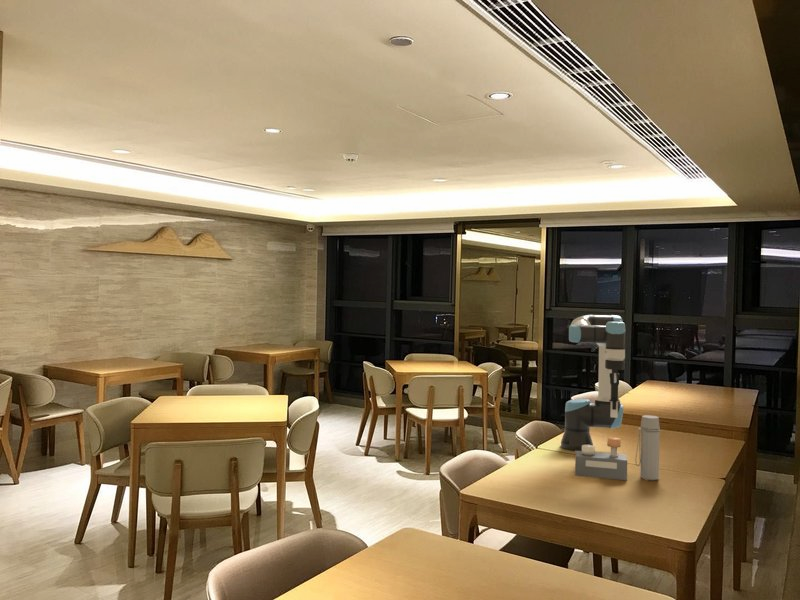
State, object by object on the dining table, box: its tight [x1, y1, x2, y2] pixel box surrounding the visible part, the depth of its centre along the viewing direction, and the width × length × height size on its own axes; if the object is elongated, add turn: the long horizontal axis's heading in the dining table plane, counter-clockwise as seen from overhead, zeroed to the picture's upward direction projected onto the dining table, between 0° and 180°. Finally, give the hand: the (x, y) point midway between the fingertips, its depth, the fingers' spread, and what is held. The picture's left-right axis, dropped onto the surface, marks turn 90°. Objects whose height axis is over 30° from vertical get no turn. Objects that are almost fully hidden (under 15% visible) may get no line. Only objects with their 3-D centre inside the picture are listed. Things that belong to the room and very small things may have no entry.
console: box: [574, 451, 628, 481], centre depth 263 cm, size 10×20×8 cm, turn 74°
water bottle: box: [635, 414, 661, 481], centre depth 259 cm, size 9×8×25 cm
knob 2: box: [606, 436, 622, 458], centre depth 262 cm, size 5×5×11 cm
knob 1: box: [582, 444, 596, 455], centre depth 265 cm, size 5×5×11 cm
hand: (613, 417), depth 262 cm, fingers closed
